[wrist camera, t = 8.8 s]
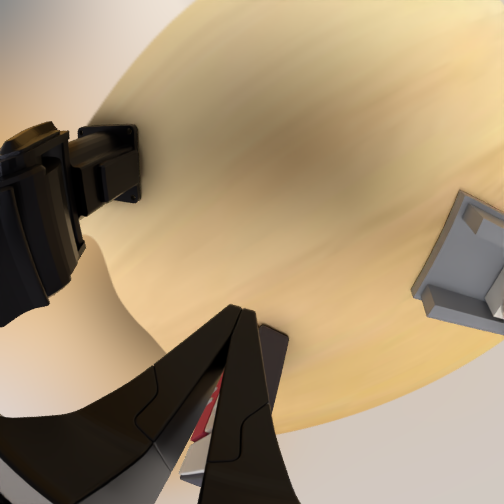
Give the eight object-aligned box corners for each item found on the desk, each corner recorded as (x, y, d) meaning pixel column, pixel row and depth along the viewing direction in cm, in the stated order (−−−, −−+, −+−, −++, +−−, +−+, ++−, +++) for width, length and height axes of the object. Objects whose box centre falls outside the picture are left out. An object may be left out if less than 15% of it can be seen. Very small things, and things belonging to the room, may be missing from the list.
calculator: (256, 318, 26) (200, 472, 13) (295, 338, 26) (259, 491, 14) (217, 367, 32) (171, 476, 20) (248, 381, 32) (211, 491, 20)
